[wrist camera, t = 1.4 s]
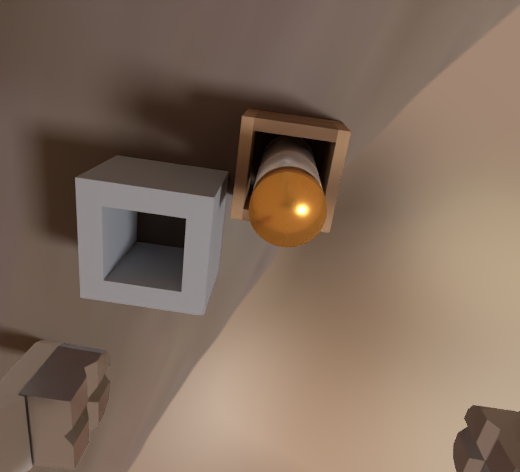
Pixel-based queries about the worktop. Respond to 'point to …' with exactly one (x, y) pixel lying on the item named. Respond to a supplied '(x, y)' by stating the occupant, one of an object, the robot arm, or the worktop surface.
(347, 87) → the worktop surface
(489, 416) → the robot arm
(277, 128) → the mount
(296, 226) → the pin
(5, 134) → the worktop surface
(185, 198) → the socket
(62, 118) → the worktop surface
